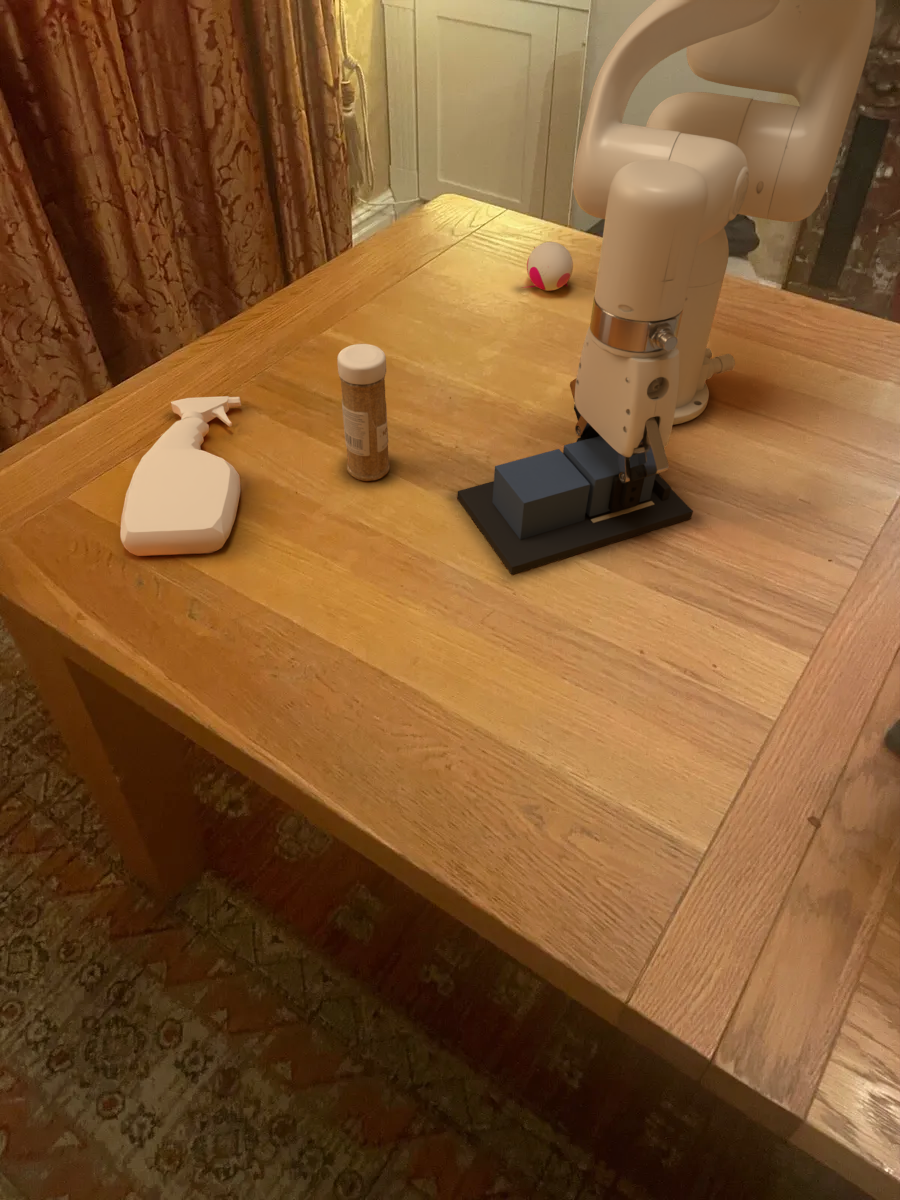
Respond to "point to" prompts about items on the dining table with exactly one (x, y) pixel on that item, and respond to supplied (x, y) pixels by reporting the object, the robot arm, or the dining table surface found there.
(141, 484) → the spray bottle
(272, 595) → the dining table surface
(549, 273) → the stress ball
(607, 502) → the back pad
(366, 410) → the sprinkles bottle
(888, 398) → the dining table surface
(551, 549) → the pad base
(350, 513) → the dining table surface
